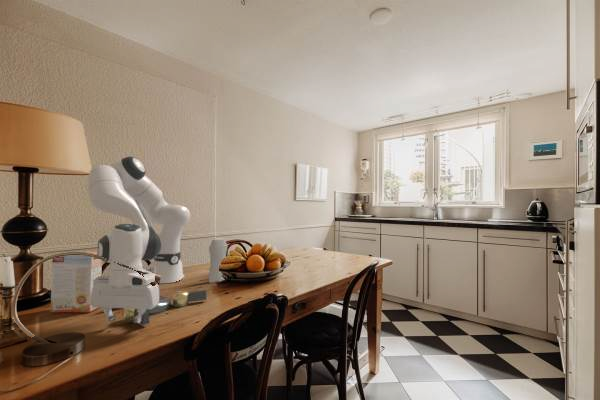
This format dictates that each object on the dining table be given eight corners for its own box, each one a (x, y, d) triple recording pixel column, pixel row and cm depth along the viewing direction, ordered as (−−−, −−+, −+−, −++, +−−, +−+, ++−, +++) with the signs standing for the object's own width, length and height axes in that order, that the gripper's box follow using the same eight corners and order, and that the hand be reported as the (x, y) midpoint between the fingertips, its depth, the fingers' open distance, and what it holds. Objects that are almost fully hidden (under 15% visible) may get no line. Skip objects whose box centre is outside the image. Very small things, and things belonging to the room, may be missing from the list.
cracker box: (101, 307, 103) (103, 251, 104) (89, 313, 97) (91, 253, 98) (64, 306, 103) (66, 250, 104) (49, 312, 97) (51, 253, 98)
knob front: (120, 319, 91) (121, 306, 91) (138, 314, 96) (139, 301, 96) (136, 329, 84) (136, 315, 84) (155, 323, 88) (155, 309, 88)
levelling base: (123, 310, 100) (124, 297, 100) (158, 300, 111) (159, 288, 111) (142, 318, 93) (142, 304, 93) (177, 307, 104) (178, 294, 104)
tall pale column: (224, 278, 147) (225, 236, 147) (228, 279, 144) (229, 237, 145) (206, 282, 138) (207, 238, 139) (210, 283, 136) (211, 239, 136)
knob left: (172, 307, 102) (173, 295, 103) (172, 303, 107) (172, 291, 108) (206, 303, 108) (207, 291, 108) (204, 298, 113) (205, 288, 113)
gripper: (85, 278, 83) (83, 324, 83) (150, 280, 82) (149, 327, 81) (102, 273, 89) (100, 316, 89) (162, 275, 88) (161, 319, 88)
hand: (124, 321), depth 85 cm, fingers open, 7 cm apart
